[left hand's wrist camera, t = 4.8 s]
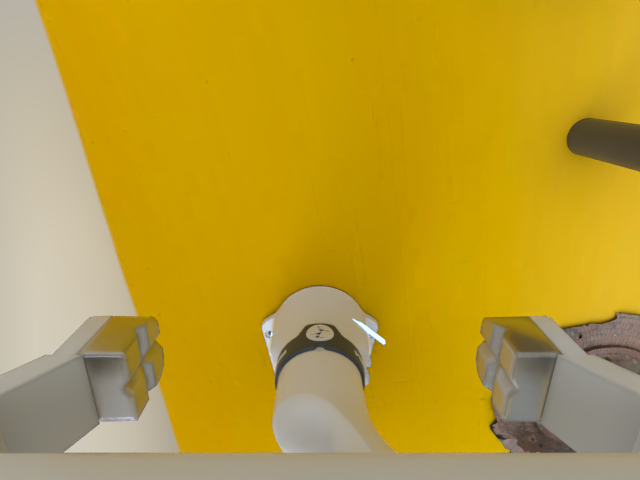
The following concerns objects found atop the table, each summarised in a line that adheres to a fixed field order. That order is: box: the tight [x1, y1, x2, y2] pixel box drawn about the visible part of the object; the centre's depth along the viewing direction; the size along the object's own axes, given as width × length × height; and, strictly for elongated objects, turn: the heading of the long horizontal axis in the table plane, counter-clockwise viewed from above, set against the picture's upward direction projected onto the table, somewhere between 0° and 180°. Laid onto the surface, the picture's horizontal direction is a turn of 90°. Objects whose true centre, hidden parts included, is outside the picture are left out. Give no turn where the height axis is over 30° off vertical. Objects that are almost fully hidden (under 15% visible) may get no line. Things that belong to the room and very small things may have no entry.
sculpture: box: [490, 313, 640, 453], centre depth 63 cm, size 33×35×16 cm
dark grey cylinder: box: [567, 118, 640, 171], centre depth 46 cm, size 5×5×19 cm
